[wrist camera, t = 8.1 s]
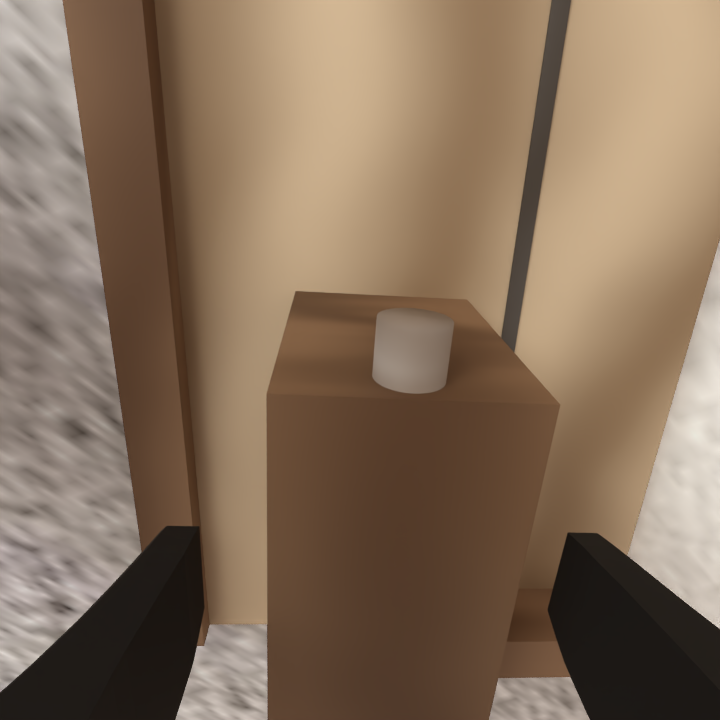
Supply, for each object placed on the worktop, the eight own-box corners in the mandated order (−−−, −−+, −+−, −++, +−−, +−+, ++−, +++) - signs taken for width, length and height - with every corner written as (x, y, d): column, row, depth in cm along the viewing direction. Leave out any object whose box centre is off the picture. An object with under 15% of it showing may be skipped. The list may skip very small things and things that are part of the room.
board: (173, 595, 18) (142, 682, 15) (17, -708, 8) (-161, -1192, 5) (591, 594, 19) (639, 676, 16) (911, -590, 9) (1191, -950, 6)
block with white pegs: (290, 569, 16) (268, 782, 11) (296, 251, 13) (266, 328, 7) (428, 571, 17) (474, 780, 11) (472, 260, 13) (574, 341, 8)
